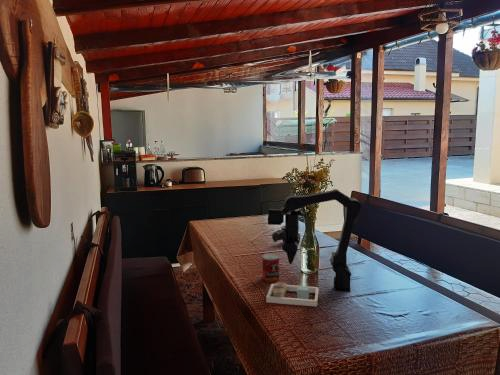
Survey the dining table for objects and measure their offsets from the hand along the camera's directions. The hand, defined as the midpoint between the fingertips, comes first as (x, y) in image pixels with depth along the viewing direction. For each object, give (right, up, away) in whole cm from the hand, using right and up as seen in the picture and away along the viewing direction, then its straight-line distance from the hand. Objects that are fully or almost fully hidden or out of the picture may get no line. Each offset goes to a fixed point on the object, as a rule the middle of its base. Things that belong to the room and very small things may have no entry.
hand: (291, 260), depth 178 cm
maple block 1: (-5, -13, -5) cm, 15 cm away
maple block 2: (-6, -14, -11) cm, 19 cm away
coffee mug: (+3, -2, +67) cm, 67 cm away
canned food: (-8, -11, +11) cm, 18 cm away
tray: (0, -14, -9) cm, 16 cm away
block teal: (+4, -14, -9) cm, 17 cm away
